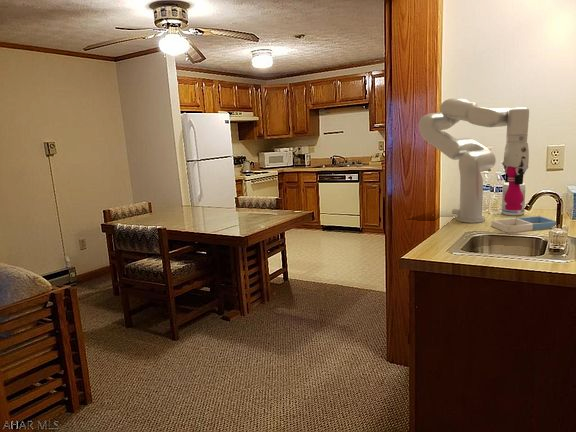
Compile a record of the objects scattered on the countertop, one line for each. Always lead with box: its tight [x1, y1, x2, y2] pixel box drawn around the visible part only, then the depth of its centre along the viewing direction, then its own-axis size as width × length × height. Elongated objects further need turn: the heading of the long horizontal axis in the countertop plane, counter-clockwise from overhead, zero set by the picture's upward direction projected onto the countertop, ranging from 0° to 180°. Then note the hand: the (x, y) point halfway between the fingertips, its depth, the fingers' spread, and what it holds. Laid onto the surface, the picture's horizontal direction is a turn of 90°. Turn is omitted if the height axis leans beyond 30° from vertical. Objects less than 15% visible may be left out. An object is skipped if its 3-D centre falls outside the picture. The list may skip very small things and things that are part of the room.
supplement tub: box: [501, 182, 526, 217], centre depth 201 cm, size 10×10×15 cm
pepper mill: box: [504, 166, 524, 211], centre depth 175 cm, size 7×7×20 cm
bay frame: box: [490, 215, 557, 234], centre depth 179 cm, size 22×12×2 cm, turn 96°
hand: (513, 182), depth 175 cm, fingers closed on pepper mill, 5 cm apart
